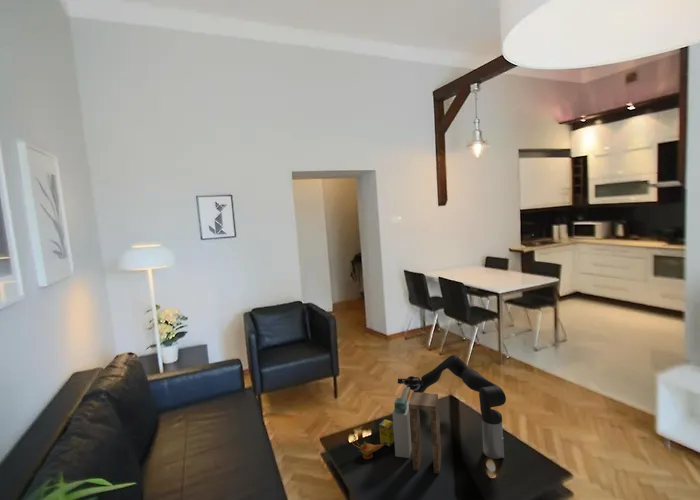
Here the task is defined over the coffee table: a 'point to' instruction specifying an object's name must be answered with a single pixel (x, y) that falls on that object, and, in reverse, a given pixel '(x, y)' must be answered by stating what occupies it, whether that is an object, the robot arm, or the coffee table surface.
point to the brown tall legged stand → (424, 403)
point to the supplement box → (386, 432)
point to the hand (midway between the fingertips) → (408, 380)
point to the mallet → (402, 401)
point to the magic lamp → (368, 448)
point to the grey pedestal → (402, 433)
